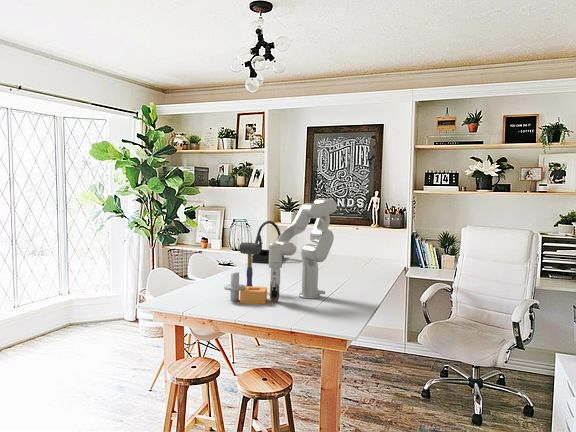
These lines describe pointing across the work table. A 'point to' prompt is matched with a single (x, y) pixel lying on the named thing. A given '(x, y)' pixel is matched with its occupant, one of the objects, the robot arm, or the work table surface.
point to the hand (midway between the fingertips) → (274, 296)
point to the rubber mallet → (249, 257)
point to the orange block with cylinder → (245, 291)
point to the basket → (264, 254)
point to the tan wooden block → (271, 294)
